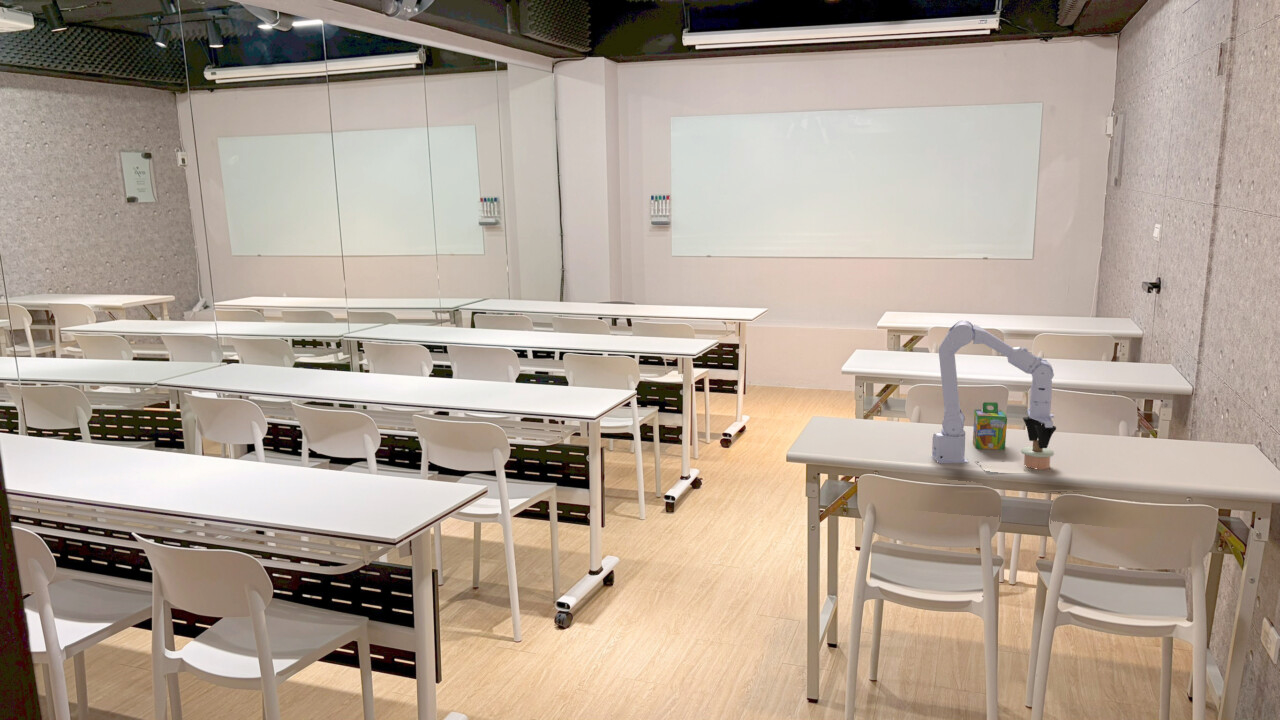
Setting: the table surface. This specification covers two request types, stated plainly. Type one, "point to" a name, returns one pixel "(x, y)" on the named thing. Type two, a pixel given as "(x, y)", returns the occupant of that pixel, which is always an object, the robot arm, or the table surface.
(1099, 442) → the table surface
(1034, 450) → the lid
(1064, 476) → the table surface
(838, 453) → the table surface
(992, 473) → the mat
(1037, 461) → the bowl
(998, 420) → the chalk box
